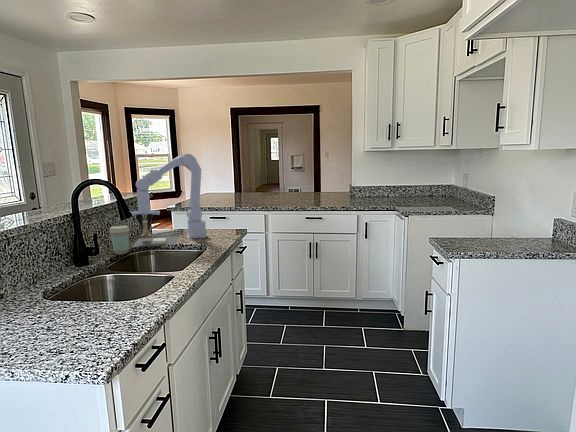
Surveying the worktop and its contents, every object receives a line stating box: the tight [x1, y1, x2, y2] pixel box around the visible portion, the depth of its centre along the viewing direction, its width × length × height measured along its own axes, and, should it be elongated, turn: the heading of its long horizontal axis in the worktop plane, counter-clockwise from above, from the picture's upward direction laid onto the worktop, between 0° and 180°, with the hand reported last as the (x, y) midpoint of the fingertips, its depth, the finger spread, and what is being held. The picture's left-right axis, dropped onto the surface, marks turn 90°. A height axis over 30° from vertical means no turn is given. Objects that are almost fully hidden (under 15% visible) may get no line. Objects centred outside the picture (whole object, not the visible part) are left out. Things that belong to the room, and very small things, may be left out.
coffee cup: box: [109, 225, 130, 255], centre depth 173 cm, size 9×8×12 cm
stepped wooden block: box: [140, 220, 152, 239], centre depth 194 cm, size 4×4×8 cm
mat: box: [131, 236, 179, 248], centre depth 194 cm, size 20×18×1 cm
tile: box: [152, 237, 167, 244], centre depth 191 cm, size 6×2×6 cm
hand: (145, 229), depth 194 cm, fingers closed on stepped wooden block, 2 cm apart
